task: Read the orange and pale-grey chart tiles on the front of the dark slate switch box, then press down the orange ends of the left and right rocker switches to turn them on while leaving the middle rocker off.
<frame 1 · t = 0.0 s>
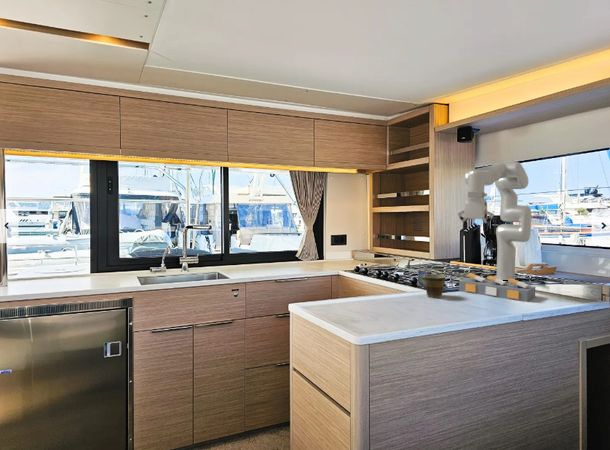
hand: (475, 230, 208), 31 cm above the counter, fingers open, 9 cm apart
switch 2: (496, 280, 207), point 7 cm above the counter, hinge at -15.0°
switch box: (495, 293, 208), on the counter
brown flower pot: (431, 296, 204), on the counter
switch 3: (518, 283, 200), point 7 cm above the counter, hinge at -15.0°
switch 1: (476, 277, 214), point 7 cm above the counter, hinge at -15.0°
flask: (424, 287, 224), on the counter
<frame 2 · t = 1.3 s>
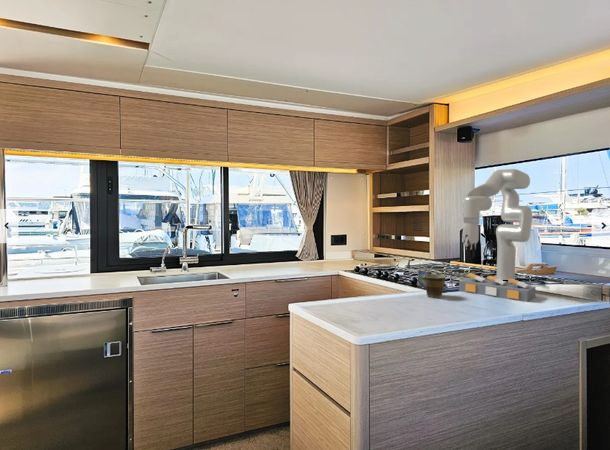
hand: (470, 256, 216), 17 cm above the counter, fingers closed
nothing on the counter moved.
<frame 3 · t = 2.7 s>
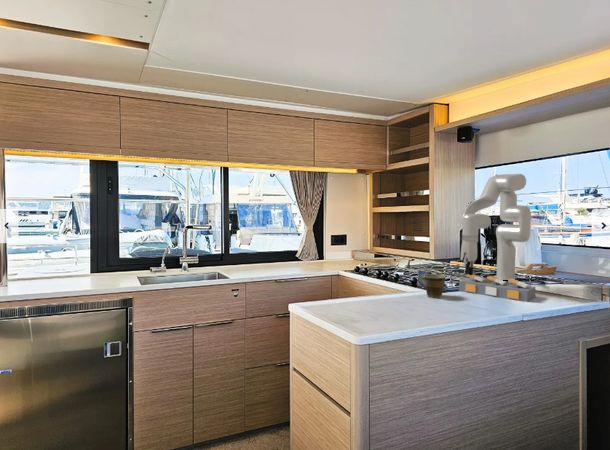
hand: (468, 274, 216), 8 cm above the counter, fingers closed
switch 1: (476, 277, 214), point 7 cm above the counter, hinge at -13.9°, touching gripper
everything else where it was.
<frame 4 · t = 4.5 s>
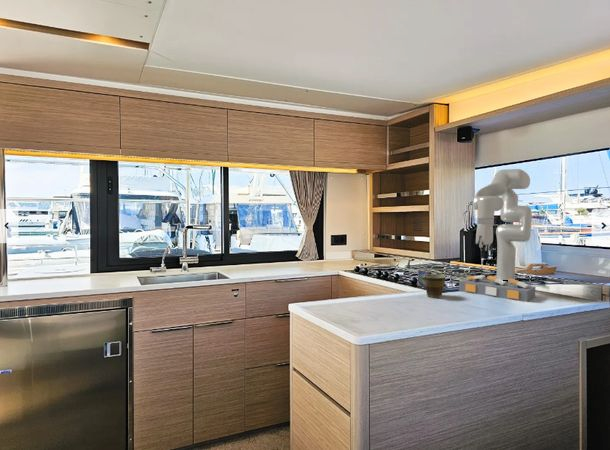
hand: (484, 258, 211), 17 cm above the counter, fingers closed
switch 1: (475, 277, 214), point 7 cm above the counter, hinge at 12.4°
everything else where it was.
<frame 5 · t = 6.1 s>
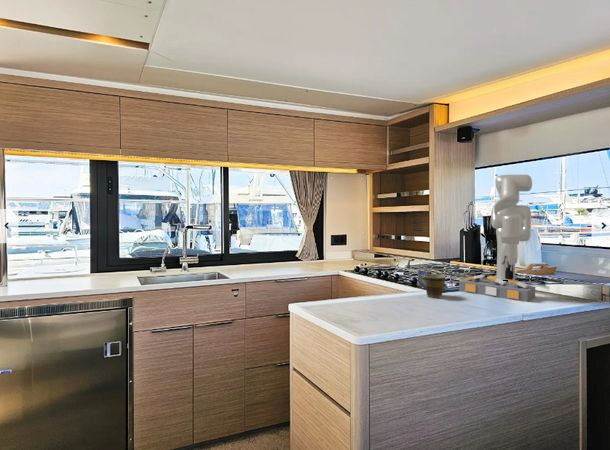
hand: (509, 278, 203), 8 cm above the counter, fingers closed
switch 3: (518, 283, 200), point 7 cm above the counter, hinge at -15.0°, touching gripper
switch 1: (475, 277, 214), point 7 cm above the counter, hinge at 18.0°
everything else where it was.
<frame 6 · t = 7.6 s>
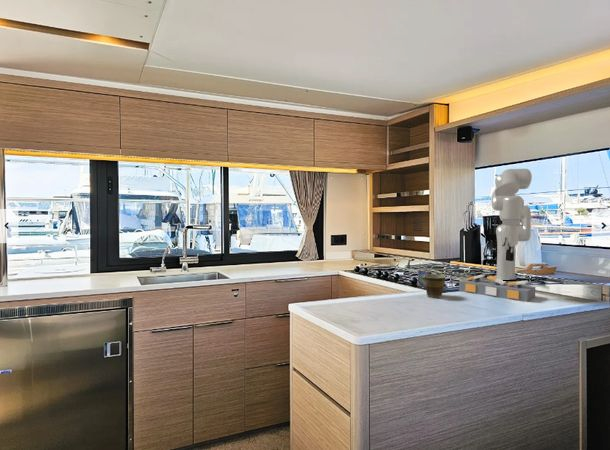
hand: (509, 260, 203), 17 cm above the counter, fingers closed
switch 3: (517, 283, 200), point 7 cm above the counter, hinge at 13.4°
switch 1: (475, 277, 214), point 7 cm above the counter, hinge at 19.9°
everything else where it was.
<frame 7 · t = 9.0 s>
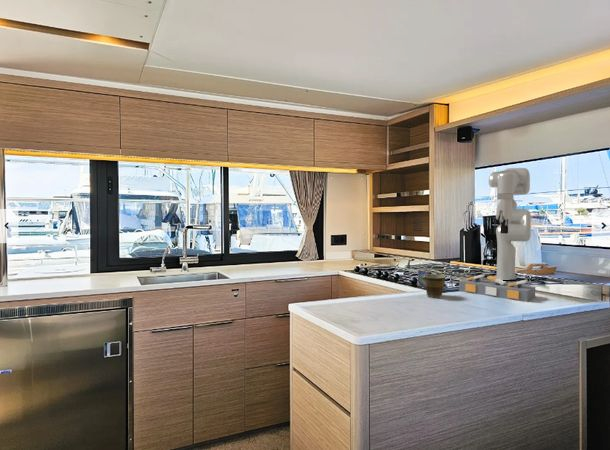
hand: (504, 233, 215), 29 cm above the counter, fingers closed
switch 3: (517, 283, 200), point 7 cm above the counter, hinge at 21.7°, touching switch box
switch 1: (475, 277, 214), point 7 cm above the counter, hinge at 20.6°, touching switch box
everything else where it was.
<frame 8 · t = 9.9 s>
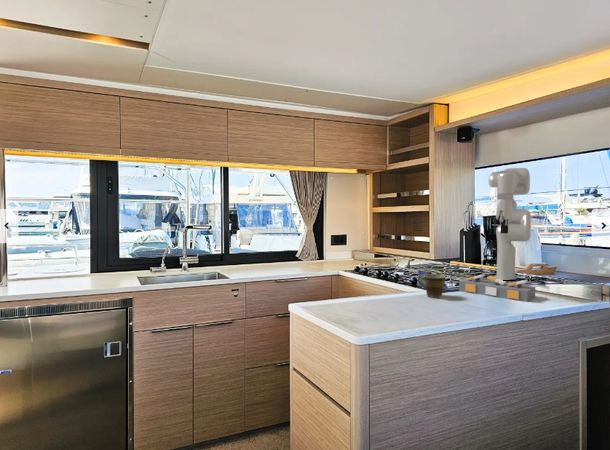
hand: (504, 233, 215), 29 cm above the counter, fingers closed
switch 3: (517, 283, 200), point 7 cm above the counter, hinge at 20.3°
everything else where it was.
at the end: switch 1 at +21° (first picture: -15°); switch 3 at +20° (first picture: -15°); switch 2 at -15° (first picture: -15°) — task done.
